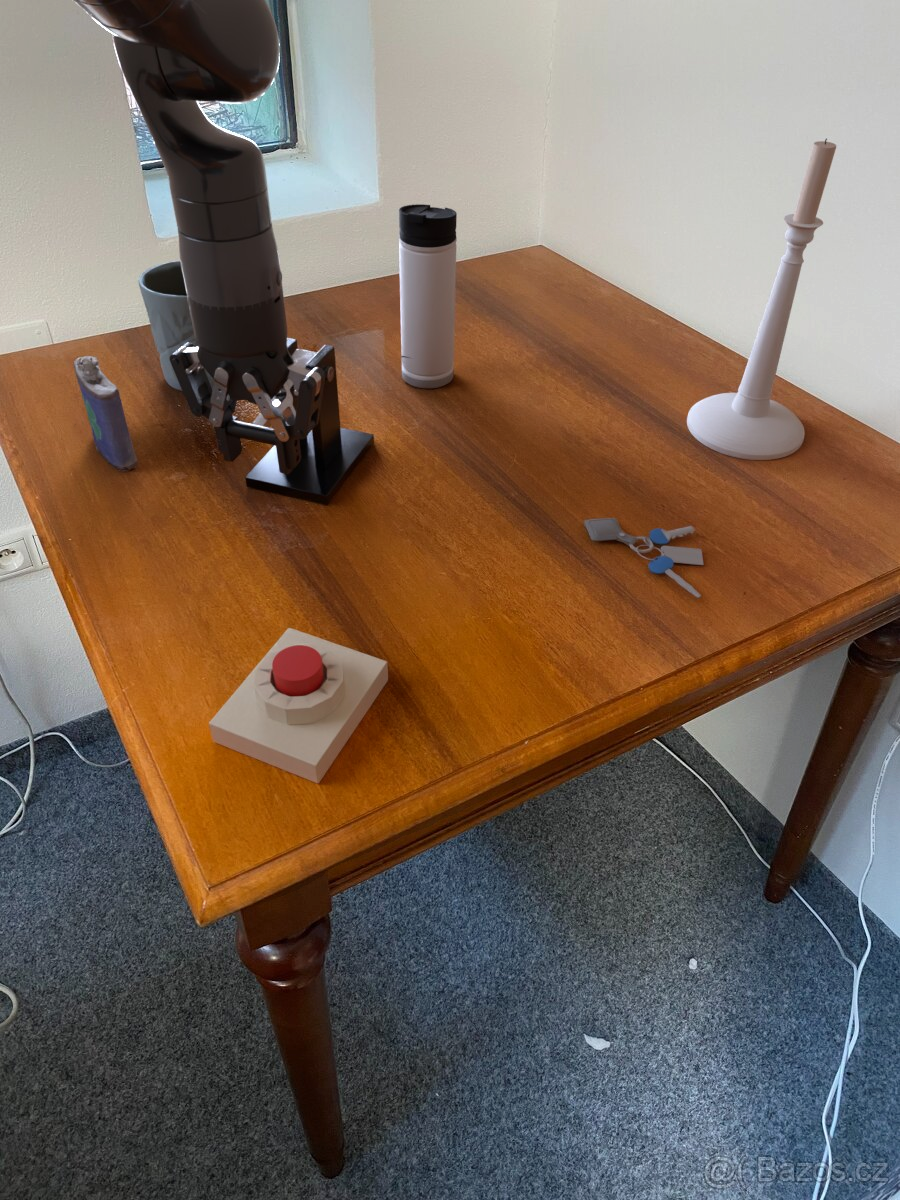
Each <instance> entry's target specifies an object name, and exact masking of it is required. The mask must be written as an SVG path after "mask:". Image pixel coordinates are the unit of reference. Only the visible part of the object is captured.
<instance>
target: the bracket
mask: <svg viewBox="0 0 900 1200" xmlns="http://www.w3.org/2000/svg"><path fill="white" fill-rule="evenodd" d="M287 349H288V351H289V353H290V355H291V356H292V354H293V353H294V352H295V350H296V349H299V348H298V339H297V338H291V337H287ZM336 363H337V362H336V350H335V346H333V345H329V344H324V345H323V346H322V347H321V348H320V349H319V350H318V351H317V354H316V355H315V356H314V357H313V358H312V359H311V360H310V361H309V362H308V363H307V364H306V365H305V366H306V369H307V370H309V371H312V370H313V369H314V368H315V367H319V368H321V369H322V370H323V371H324V372H325V382H324V388H323V395H322V402H321V408H320V415H319V422H318V424H317V425H316V427H314V428H313V429H312V430H311V431H310V433H309V434H308V436H307V437H306V438H305V439H299V441H300V450H301V460H300V462H299V463H298V465H297V466H296V467H295V468H294V469H293V470H292V471H291V472H290V473H289V474H288V475H287V474H283V473H280V471H279V464H278V457H277V450H276V446H274V445H272V447H271V448H270V449H269V450H268V451H267V453H266V454H265V455H264V456H262V458H261V459H260V460H259V461H258V463H256V465H254V467H253V468H252V469H251V470H250V471H249V472H248V473H247V475H246V476H245V477H244V479H245V485H246V488H250V489H253V490H258V491H263V492H266V493H271V494H276V495H280V496H284V497H289V498H293V499H297V500H302V501H306V502H311V503H315V504H319V505H324V506H329V504H330V503H331V502H332V500H333V499H334V498H335V496H336V495H337V494H338V493H339V491H340V490H341V488H342V487H343V486H344V485H345V483H346V482H347V481H348V479H349V478H350V477H351V475H352V474H353V472H354V471H355V470H356V469H357V467H358V466H359V465H360V463H361V462H362V461H363V459H364V458H365V456H366V455H367V454H368V453H369V451H370V450H371V449H372V448H373V446H374V445H375V434H374V433H369V432H364V431H359V430H354V429H350V428H345V427H341V417H340V404H339V403H340V402H339V391H338V376H337V365H336ZM292 397H293V407H294V409H295V411H296V410H297V402H298V396H296V395H295V394H294V395H293V396H292Z"/></svg>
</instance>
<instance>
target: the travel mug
mask: <svg viewBox="0 0 900 1200" xmlns="http://www.w3.org/2000/svg"><path fill="white" fill-rule="evenodd" d="M457 217H458V216H457V211H456V210H454V209H452V208H448V207H444V208H441V207H436V206H435V207H433V206H431V204H423V203H422V204H417V203H415V204H407V205H403V206H401V207H399V209H398V228H399V234H398V242H399V244H398V259H399V261H398V262H399V263H398V264H399V301H400V302H399V303H400V304H399V305H400V306H399V307H400V310H399V311H400V349H401V350H400V352H401V354H400V355H401V356H400V357H401V378H402V379H403V381H404V383H407V384H408V385H409V386H412V387H415V388H418V389H438V388H442V387H444V386H447V385H448V384H450V382H452V380H453V378H454V375H455V371H454V369H455V366H454V365H455V363H454V362H455V328H456V327H455V325H456V324H455V323H456V281H457V241H458V240H457V221H458V219H457Z"/></svg>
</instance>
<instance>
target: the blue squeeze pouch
mask: <svg viewBox="0 0 900 1200" xmlns="http://www.w3.org/2000/svg"><path fill="white" fill-rule="evenodd" d="M73 369H74V373H75V378H76V380H77V383H78V387H79V388H80V393H81V397H82V400H83V404H84V407H85V412H86V414H87V419H88V422H89V425H90V429H91V433H92V437H93V443H94V447H95V449H96V451H97V452H98V454H100V455H101V457H102V458H103V459H104V461H105V462H107V464H108V465H109V466H111V468H113V469H115V470H116V471H118V472H119V471H120V472H129V471H130V470H132V469H136V468H137V465H138V459H137V456H136V454H135V453H136V452H135V449H134V445H133V441H132V438H131V435H130V431H129V427H128V424H127V419H126V416H125V415H126V414H125V411H124V407H123V403H122V398H121V394H120V391H119V388H118V386H117V385H116V384H114V383H113V382H112V381H110V380H109V379H108V377H107V376H106V375H105V374H104V373H103V371H102V370H101V366H100V362H99V358H98V357H95V356H92V355H85V356H84V355H83V356H81V357H77V358H76V359H75V360H74V362H73Z"/></svg>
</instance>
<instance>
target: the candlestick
mask: <svg viewBox="0 0 900 1200" xmlns="http://www.w3.org/2000/svg"><path fill="white" fill-rule="evenodd" d="M836 150H837V144H835V143H834V142H830V141H828V138H825V139H824V141H823V140H819V141H818V140H817V141H814V142H813V144H812V148H811V152H810V156H809V159H808V162H807V167H806V169H805V174H804V177H803V181H802V183H801V187H800V191H799V195H798V199H797V202H796V206H795V210H794V213H791V214H790V213H789V214H787V215H785V216H784V217H783V220H784V222H785V223H786V225H787V229H786V231H785V233H784V238H785V240H786V241H787V242H786V251H785V253H784V254H783V255H782V256H781V258H780V260H781V261H780V264H779V267H778V268H777V269H778V270H777V273H776V276H775V278H774V281H773V285H772V288H771V291H770V294H769V297H768V300H767V303H766V306H765V310H764V313H763V315H762V318H761V322H760V324H759V327H758V330H757V333H756V336H755V339H754V342H753V345H752V348H751V351H750V353H749V354H750V355H749V358H748V360H747V363H746V366H745V369H744V373H743V375H742V379H741V381H740V384H739V386H738V389H737V392H724V393H718V394H714V395H710V396H707V397H705V398H703V399H701V400H699V401H697V402H695V404H693V405H692V406H691V407H690V409H689V410H688V414H687V417H686V425H687V429H688V430H689V432H690V434H691V435H692V436H693V438H695V440H697V441H698V442H699V443H701V444H702V445H704V446H705V447H707V448H709V449H711V450H713V451H715V452H717V453H720V454H723V455H724V456H725V455H726V456H729V457H733V458H737V459H743V460H750V461H770V460H777V459H782V458H785V457H788V456H790V455H792V454H794V453H796V452H797V451H798V450H799V449H800V448H801V447H802V445H803V443H804V440H805V428H804V425H803V424H802V422H801V420H800V419H799V418H798V416H796V414H795V413H794V412H792V410H790V409H789V408H788V407H786V406H785V405H783V404H781V403H780V402H777V401H776V400H773V399H771V397H772V395H773V388H774V384H775V378H776V374H777V370H778V367H779V363H780V358H781V354H782V350H783V345H784V342H785V338H786V333H787V328H788V325H789V320H790V316H791V312H792V308H793V305H794V300H795V295H796V290H797V286H798V283H799V278H800V276H801V275H800V273H801V270H802V266H803V263H804V261H805V260H804V257H803V255H804V251H805V250H806V249H807V246H808V244H810V243H811V242H813V240H814V239H815V238H814V237H815V231H816V230H817V229H818V228H820V227H822V226H823V225H824V221H823V220H822V219H821V218H819V217H817V215H818V212H819V208H820V204H821V201H822V198H823V193H824V191H825V188H826V184H827V181H828V177H829V174H830V170H831V167H832V163H833V160H834V156H835V153H836Z"/></svg>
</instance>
